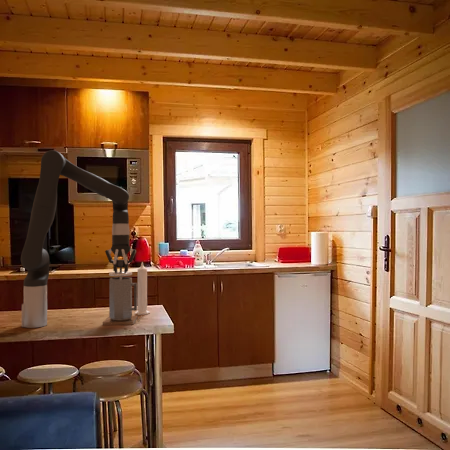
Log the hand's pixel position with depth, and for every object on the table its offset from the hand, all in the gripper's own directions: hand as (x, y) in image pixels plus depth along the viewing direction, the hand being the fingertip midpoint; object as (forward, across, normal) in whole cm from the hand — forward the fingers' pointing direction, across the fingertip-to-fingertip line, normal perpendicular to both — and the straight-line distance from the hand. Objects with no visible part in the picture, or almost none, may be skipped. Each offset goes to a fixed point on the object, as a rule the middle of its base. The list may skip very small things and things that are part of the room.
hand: (120, 272), depth 194 cm
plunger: (+18, 0, 0) cm, 18 cm away
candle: (+22, +7, +18) cm, 29 cm away
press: (+22, 0, 0) cm, 22 cm away
